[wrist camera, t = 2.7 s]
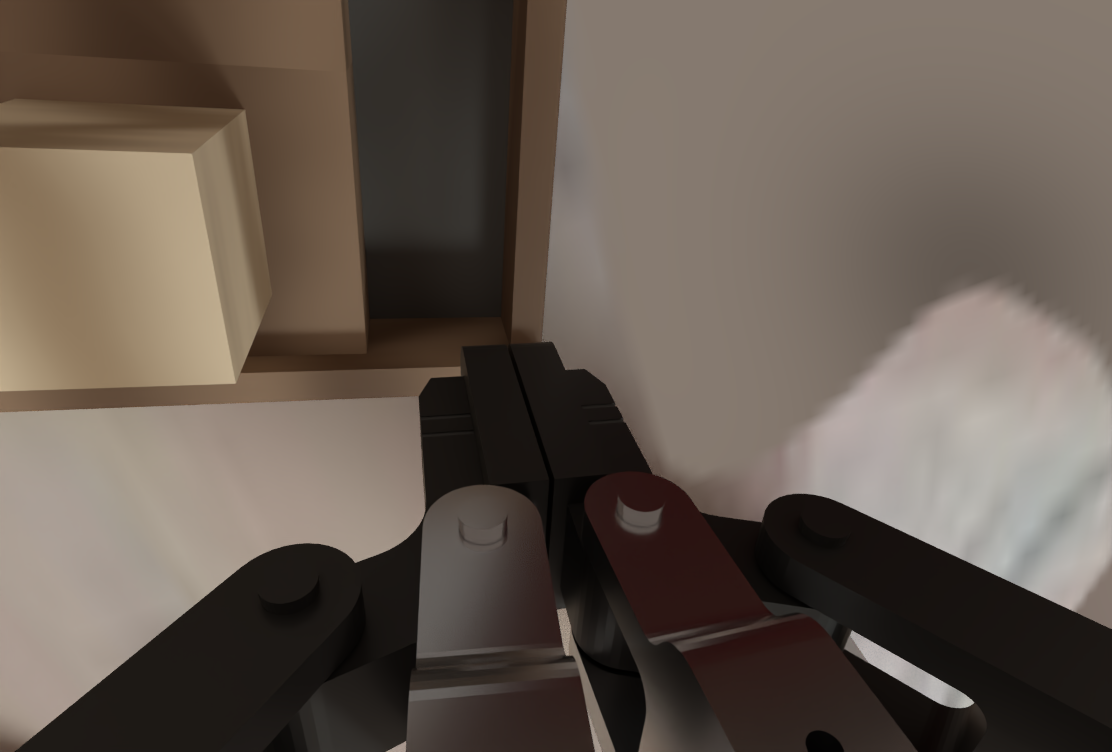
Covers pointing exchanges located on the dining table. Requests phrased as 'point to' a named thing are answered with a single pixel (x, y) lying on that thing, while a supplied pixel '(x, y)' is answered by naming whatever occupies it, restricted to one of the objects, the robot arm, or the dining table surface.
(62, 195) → the maple block
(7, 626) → the dining table surface
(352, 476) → the dining table surface
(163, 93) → the wooden divided tray
